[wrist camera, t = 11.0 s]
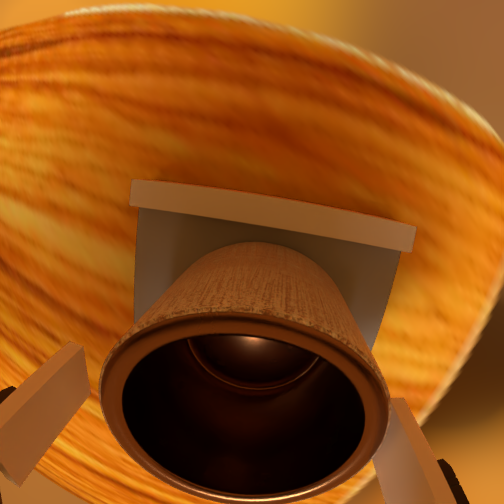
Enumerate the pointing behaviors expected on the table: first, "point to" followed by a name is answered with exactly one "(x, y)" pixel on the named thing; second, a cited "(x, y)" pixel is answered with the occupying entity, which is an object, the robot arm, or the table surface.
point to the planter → (247, 381)
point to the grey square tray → (265, 230)
